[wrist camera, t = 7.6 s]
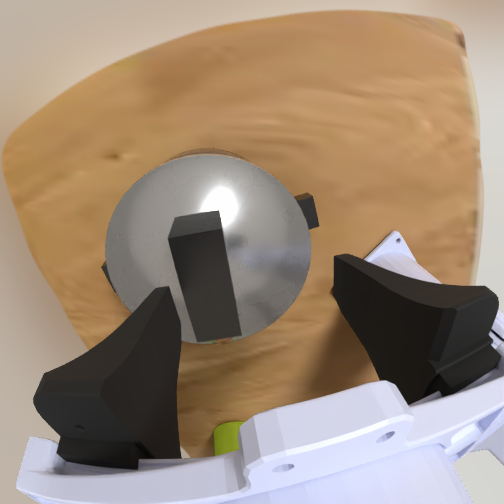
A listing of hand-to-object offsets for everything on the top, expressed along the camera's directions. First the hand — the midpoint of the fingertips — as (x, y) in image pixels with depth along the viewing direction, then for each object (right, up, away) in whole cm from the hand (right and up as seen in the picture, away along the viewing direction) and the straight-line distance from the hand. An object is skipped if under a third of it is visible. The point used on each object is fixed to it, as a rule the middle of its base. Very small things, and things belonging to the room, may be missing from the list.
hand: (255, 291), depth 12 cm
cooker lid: (-3, +1, +5) cm, 6 cm away
